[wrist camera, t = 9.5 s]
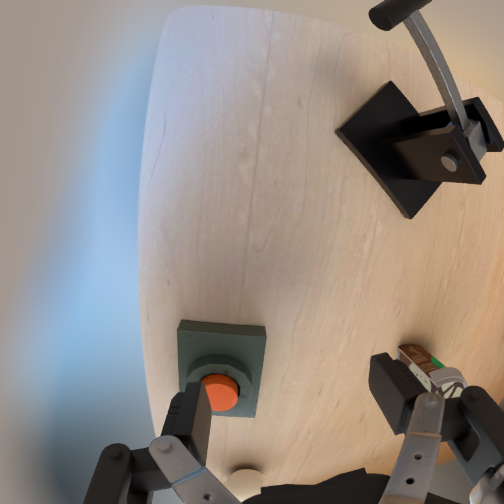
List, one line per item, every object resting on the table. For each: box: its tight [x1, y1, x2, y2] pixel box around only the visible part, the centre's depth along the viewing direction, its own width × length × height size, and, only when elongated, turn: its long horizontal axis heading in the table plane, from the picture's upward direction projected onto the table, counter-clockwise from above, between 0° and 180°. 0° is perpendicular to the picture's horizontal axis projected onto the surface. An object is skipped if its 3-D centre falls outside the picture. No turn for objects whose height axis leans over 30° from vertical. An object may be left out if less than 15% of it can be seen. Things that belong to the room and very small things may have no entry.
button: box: [202, 374, 238, 411], centre depth 27 cm, size 4×4×2 cm
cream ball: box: [224, 469, 269, 502], centre depth 34 cm, size 7×7×7 cm
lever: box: [369, 0, 487, 162], centre depth 13 cm, size 13×6×2 cm, turn 46°
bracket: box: [335, 80, 504, 219], centre depth 20 cm, size 12×9×13 cm
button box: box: [177, 320, 267, 418], centre depth 30 cm, size 12×9×4 cm
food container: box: [398, 344, 467, 399], centre depth 28 cm, size 12×6×10 cm, turn 14°
